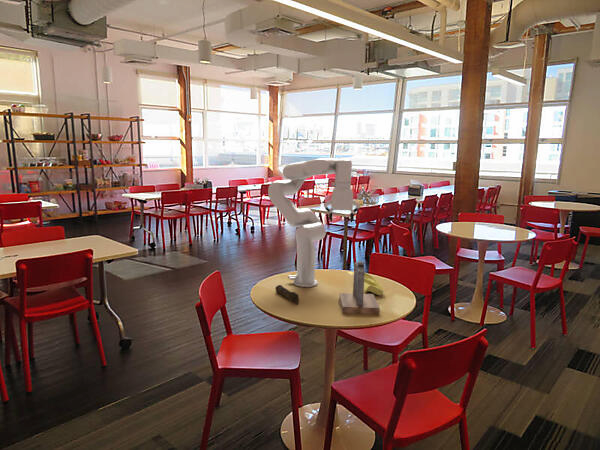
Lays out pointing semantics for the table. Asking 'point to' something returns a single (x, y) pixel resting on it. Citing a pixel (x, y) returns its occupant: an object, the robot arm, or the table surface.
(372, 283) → the plastic component
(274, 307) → the table surface
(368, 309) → the brown flat square piece
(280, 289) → the hand tool
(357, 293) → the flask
